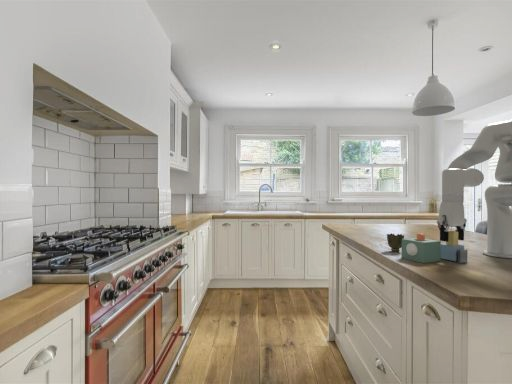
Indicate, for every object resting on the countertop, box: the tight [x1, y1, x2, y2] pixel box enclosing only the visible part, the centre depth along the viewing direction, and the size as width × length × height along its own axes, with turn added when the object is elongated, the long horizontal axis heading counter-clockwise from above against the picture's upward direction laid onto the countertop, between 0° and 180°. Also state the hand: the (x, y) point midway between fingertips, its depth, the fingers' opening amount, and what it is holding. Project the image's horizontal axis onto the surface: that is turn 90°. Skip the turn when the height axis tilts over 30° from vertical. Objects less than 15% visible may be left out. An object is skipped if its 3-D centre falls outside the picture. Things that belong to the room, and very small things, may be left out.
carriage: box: [440, 230, 465, 262], centre depth 122 cm, size 6×6×11 cm
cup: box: [386, 233, 405, 253], centre depth 139 cm, size 8×7×8 cm
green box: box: [401, 237, 442, 264], centre depth 123 cm, size 10×10×8 cm
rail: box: [440, 248, 468, 264], centre depth 127 cm, size 4×19×5 cm, turn 24°
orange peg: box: [416, 233, 426, 241], centre depth 123 cm, size 3×3×8 cm
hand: (451, 240), depth 122 cm, fingers open, 9 cm apart
